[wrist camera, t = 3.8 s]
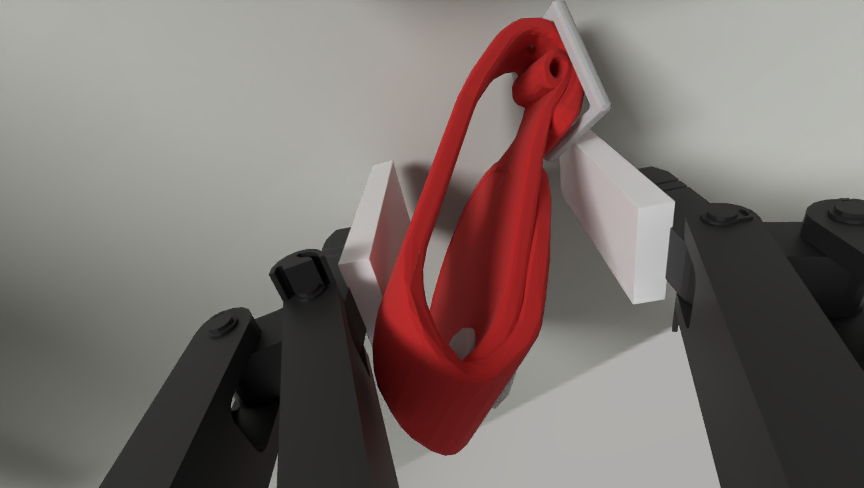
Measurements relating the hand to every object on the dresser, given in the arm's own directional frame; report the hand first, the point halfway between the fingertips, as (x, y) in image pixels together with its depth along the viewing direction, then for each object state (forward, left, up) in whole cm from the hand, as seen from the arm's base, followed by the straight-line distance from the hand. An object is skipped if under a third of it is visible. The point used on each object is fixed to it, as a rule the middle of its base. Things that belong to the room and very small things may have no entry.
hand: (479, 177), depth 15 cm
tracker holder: (0, 0, -1) cm, 1 cm away
